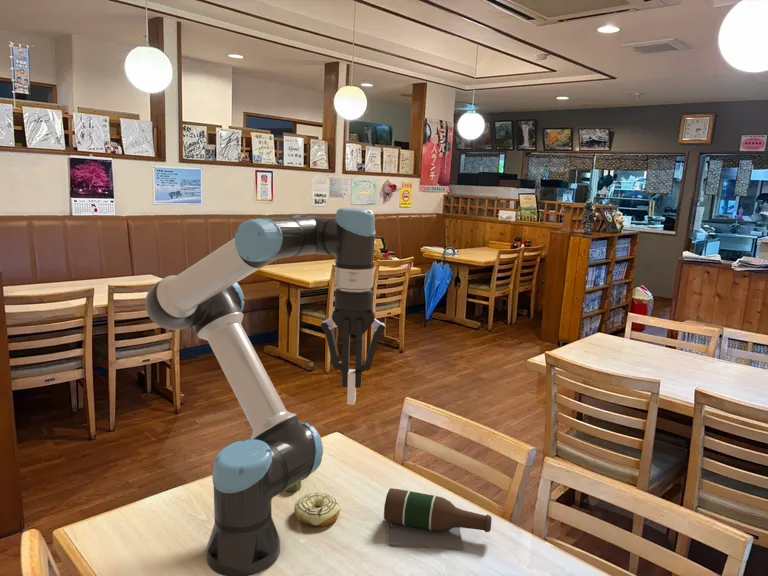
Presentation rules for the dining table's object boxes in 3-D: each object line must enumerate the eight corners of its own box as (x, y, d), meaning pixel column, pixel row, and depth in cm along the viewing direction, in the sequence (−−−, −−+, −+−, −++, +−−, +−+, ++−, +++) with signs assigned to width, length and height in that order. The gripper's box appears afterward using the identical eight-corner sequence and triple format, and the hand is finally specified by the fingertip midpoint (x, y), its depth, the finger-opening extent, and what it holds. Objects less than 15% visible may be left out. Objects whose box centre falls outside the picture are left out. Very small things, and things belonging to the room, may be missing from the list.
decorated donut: (318, 535, 126) (318, 520, 125) (285, 517, 132) (285, 503, 132) (348, 514, 134) (348, 500, 134) (316, 498, 141) (316, 484, 140)
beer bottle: (393, 485, 136) (493, 503, 130) (389, 519, 134) (490, 538, 128) (386, 489, 129) (491, 508, 122) (381, 525, 127) (488, 546, 121)
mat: (389, 545, 123) (390, 543, 123) (391, 513, 135) (391, 512, 135) (462, 549, 123) (463, 547, 123) (457, 517, 135) (457, 515, 134)
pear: (304, 454, 151) (302, 479, 142) (304, 471, 153) (302, 496, 143) (283, 455, 150) (280, 480, 141) (283, 471, 152) (280, 497, 143)
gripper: (318, 290, 106) (316, 407, 111) (386, 293, 106) (382, 410, 110) (323, 283, 113) (322, 393, 118) (387, 286, 113) (384, 396, 118)
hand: (351, 401), depth 114 cm, fingers closed
